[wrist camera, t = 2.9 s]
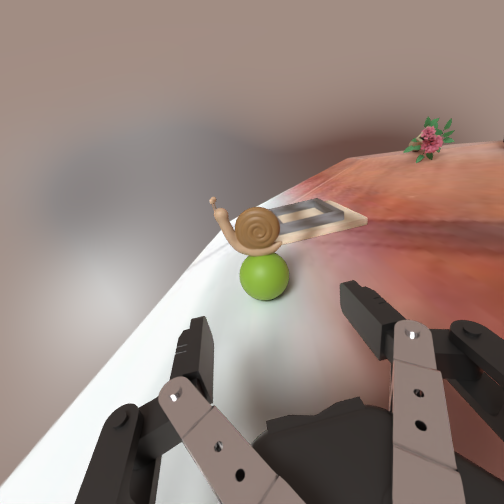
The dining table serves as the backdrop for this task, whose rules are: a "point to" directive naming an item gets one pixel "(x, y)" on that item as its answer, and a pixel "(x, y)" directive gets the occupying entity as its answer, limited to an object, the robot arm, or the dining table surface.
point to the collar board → (314, 219)
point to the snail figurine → (256, 250)
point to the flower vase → (430, 139)
